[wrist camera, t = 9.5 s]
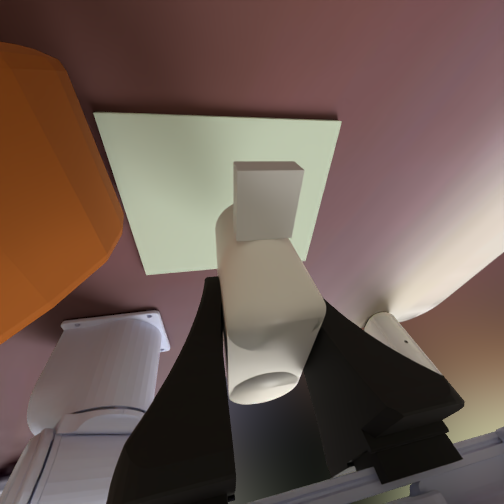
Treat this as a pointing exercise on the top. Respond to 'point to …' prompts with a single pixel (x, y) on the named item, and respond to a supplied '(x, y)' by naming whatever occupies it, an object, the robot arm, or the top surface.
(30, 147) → the orange toaster
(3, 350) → the top surface
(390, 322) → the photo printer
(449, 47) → the top surface
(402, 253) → the top surface
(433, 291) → the top surface
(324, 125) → the rubber mat
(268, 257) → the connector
